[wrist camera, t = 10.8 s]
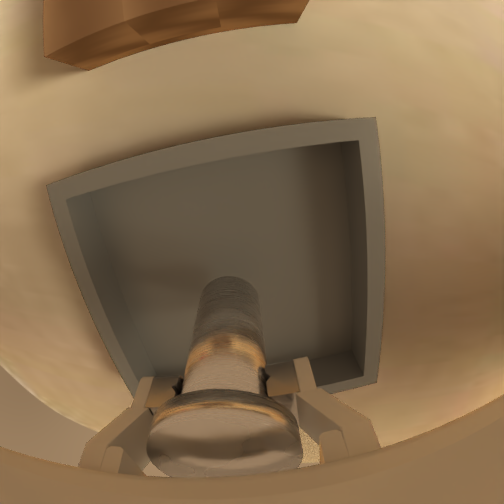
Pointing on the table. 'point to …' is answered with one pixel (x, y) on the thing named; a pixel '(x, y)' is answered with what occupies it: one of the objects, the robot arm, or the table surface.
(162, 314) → the tray
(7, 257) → the table surface
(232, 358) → the pin
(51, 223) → the table surface
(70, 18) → the block
